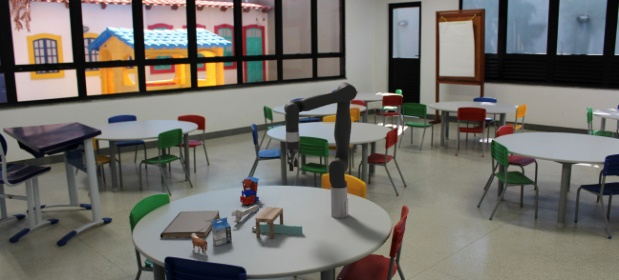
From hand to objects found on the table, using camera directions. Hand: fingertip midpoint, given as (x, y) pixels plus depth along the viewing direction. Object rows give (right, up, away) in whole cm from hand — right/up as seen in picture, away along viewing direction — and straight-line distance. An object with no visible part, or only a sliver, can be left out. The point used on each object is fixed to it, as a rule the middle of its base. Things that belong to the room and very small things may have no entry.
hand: (293, 169), depth 289 cm
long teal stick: (-6, -33, -9) cm, 35 cm away
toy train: (-29, -23, +43) cm, 57 cm away
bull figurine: (-45, -39, -31) cm, 67 cm away
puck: (-20, -33, -6) cm, 39 cm away
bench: (-12, -33, -8) cm, 36 cm away
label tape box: (-35, -36, -21) cm, 55 cm away
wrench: (-28, -29, +16) cm, 43 cm away
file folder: (-56, -32, +4) cm, 65 cm away
